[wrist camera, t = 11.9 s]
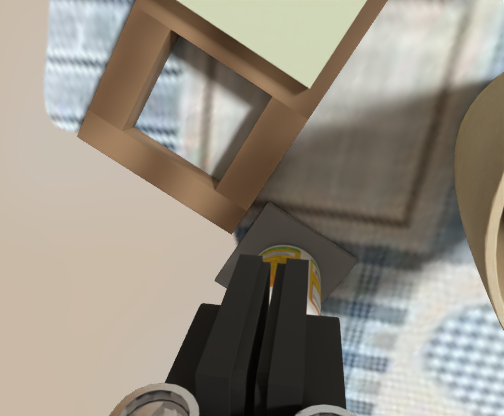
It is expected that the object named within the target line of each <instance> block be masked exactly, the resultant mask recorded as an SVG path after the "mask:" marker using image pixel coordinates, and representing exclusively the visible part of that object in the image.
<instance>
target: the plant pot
mask: <svg viewBox="0 0 504 416" xmlns="http://www.w3.org/2000/svg"><path fill="white" fill-rule="evenodd" d="M454 176H455V188H456V195H457V202H458V207H459V211H460V216H461V220H462V224H463V228H464V231H465V235H466V238H467V241H468V244H469V247H470V250H471V253H472V256H473V258H474V261H475V264H476V267H477V269H478V272H479V274H480V277H481V280H482V282H483V284H484V287H485V289H486V292H487V294H488V297H489V299H490V301H491V304H492V306H493V308H494V311H495V313H496V315H497V318H498V320H499V323H500V325H501V326H502V328H503V330H504V72H503V73H502V74H500V75H499V76H498V77H497V78H495V79H494V80H493V81H492V82H491V83H490V84H489V85H488V86H487V87H486V88H485V89H484V90H483V91H482V92H481V93H480V94H479V95H478V96H477V98H476V99H475V100H474V101H473V103H472V104H471V106H470V107H469V109H468V110H467V112H466V114H465V116H464V118H463V120H462V123H461V125H460V128H459V131H458V135H457V140H456V145H455V155H454Z"/></svg>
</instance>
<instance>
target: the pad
mask: <svg viewBox="0 0 504 416" xmlns="http://www.w3.org/2000/svg"><path fill="white" fill-rule="evenodd" d="M276 245H291V246H295V247H298V248H300V249H302V250H304V251H306V252H307V253H308V254H310V255H311V256H312V258H313V259H314V260H315V262H316V263H317V265H318V268H319V271H320V279H321V304H322V303H323V302H324V301H325V299H326V298H327V297H328V296H329V295H330V294H331V292H332V291H333V290H334V289H335V288H336V286H337V285H338V284H339V283H340V282H341V281H342V279H343V278H344V277H345V276H346V275H347V273H348V272H349V271H350V270H351V269H352V268H353V266H354V265H355V264H356V263H357V262H358V261H357V258H356V257H355V256H353V255H352V254H350V253H349V252H347V251H345V250H344V249H342V248H341V247H339V246H338V245H336V244H334V243H333V242H331V241H330V240H328V239H327V238H325V237H324V236H322V235H320V234H319V233H317V232H316V231H314V230H313V229H311V228H310V227H308V226H306V225H305V224H303V223H302V222H300V221H299V220H297V219H296V218H294V217H292V216H291V215H289V214H288V213H286V212H285V211H283V210H282V209H280V208H278V207H277V206H275V205H274V204H272V203H271V202H269V201H268V202H267V204H266V205H265V206H264V208H263V209H262V211H261V212H260V214H259V215H258V217H257V218H256V220H255V221H254V223H253V224H252V226H251V227H250V228H249V230H248V231H247V233H246V234H245V236H244V237H243V239H242V240H241V242H240V243H239V245H238V246H237V247H236V249H235V250H234V252H233V253H232V255H231V256H230V258H229V259H228V261H227V262H226V264H225V265H224V267H223V268H222V269H221V271H220V272H219V274H218V275H217V277H216V279H215V281H216V282H217V283H219V284H220V285H222V286H224V287H225V288H227V287H228V285H229V282H230V279H231V277H232V274H233V271H234V269H235V266H236V263H237V261H238V258H239V256H240V254H248V255H259V254H260V253H261V252H263V251H264V250H266V249H267V248H269V247H272V246H276Z"/></svg>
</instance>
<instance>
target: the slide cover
mask: <svg viewBox="0 0 504 416" xmlns="http://www.w3.org/2000/svg"><path fill="white" fill-rule="evenodd" d="M177 1H179V2H180V3H182V4H183V5H185V6H186V7H188V8H189V9H191V10H192V11H194V12H195V13H197V14H198V15H200V16H201V17H203V18H204V19H206V20H207V21H209V22H210V23H212V24H213V25H215V26H216V27H218V28H219V29H221V30H222V31H224V32H225V33H227V34H228V35H230V36H231V37H233V38H234V39H236V40H237V41H239V42H240V43H242V44H243V45H245V46H246V47H248V48H249V49H251V50H252V51H254V52H255V53H257V54H258V55H260V56H261V57H263V58H264V59H266V60H267V61H269V62H270V63H272V64H273V65H275V66H276V67H278V68H279V69H281V70H282V71H284V72H285V73H287V74H288V75H290V76H291V77H293V78H294V79H296V80H297V81H299V82H300V83H302V84H303V85H305V86H306V87H308V88H309V89H310V88H311V86H312V84H313V83H314V81H315V80H316V78H317V77H318V75H319V74H320V72H321V71H322V69H323V67H324V66H325V64H326V63H327V61H328V60H329V58H330V57H331V55H332V54H333V52H334V50H335V49H336V47H337V46H338V44H339V43H340V41H341V40H342V38H343V37H344V35H345V33H346V32H347V30H348V29H349V27H350V26H351V24H352V23H353V21H354V20H355V18H356V16H357V15H358V13H359V12H360V10H361V9H362V7H363V6H364V4H365V3H366V1H367V0H177Z"/></svg>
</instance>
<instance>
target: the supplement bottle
mask: <svg viewBox="0 0 504 416" xmlns="http://www.w3.org/2000/svg"><path fill="white" fill-rule="evenodd" d="M259 256H263V262H271V276H270V300H271V294H272V289H273V284H274V278H275V273H276V268H277V263H283V264H286V259H287V258H293V259H305V260H309V273H308V295H307V314H309V315H319V316H321V279H320V271H319V268H318V265H317V263H316V262H315V260H314V259H313V258H312V256H311V255H310V254H308V253H307V252H306V251H304V250H302V249H300V248H298V247H295V246H291V245H276V246H272V247H269V248H267V249H266V250H264V251H263V252H261V253H260V254H259ZM269 305H270V302H269Z"/></svg>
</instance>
